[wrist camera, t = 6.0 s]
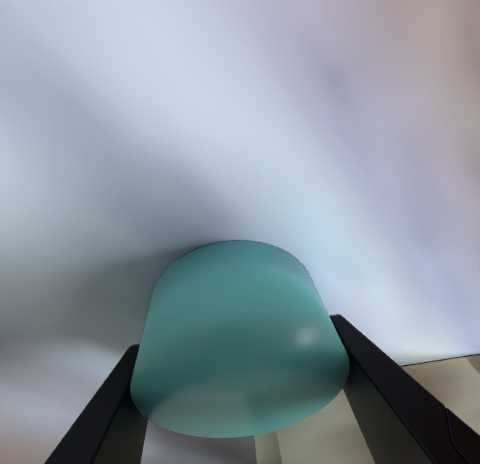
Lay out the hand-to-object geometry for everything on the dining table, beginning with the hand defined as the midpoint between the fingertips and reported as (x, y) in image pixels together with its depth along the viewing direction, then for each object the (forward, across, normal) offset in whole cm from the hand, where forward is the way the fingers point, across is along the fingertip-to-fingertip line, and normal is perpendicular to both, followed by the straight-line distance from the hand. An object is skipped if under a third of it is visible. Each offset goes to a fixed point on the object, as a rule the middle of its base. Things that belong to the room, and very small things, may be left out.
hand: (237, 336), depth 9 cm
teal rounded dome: (+1, 0, 0) cm, 1 cm away
